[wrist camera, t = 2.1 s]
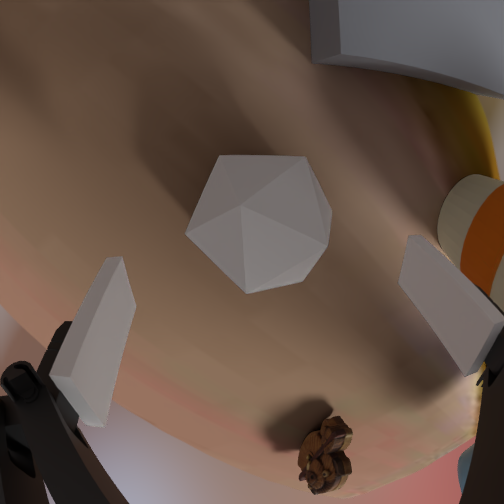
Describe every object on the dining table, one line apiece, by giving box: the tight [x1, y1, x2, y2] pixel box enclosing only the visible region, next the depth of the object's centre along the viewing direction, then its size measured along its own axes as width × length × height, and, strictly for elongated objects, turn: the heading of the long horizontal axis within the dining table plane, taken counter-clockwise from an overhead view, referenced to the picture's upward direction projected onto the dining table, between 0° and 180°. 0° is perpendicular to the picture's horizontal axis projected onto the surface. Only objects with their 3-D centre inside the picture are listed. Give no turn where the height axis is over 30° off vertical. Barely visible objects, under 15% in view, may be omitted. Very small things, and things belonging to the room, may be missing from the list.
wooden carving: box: [298, 416, 353, 495], centre depth 36 cm, size 16×5×10 cm, turn 174°
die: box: [185, 155, 332, 294], centre depth 19 cm, size 8×9×10 cm
